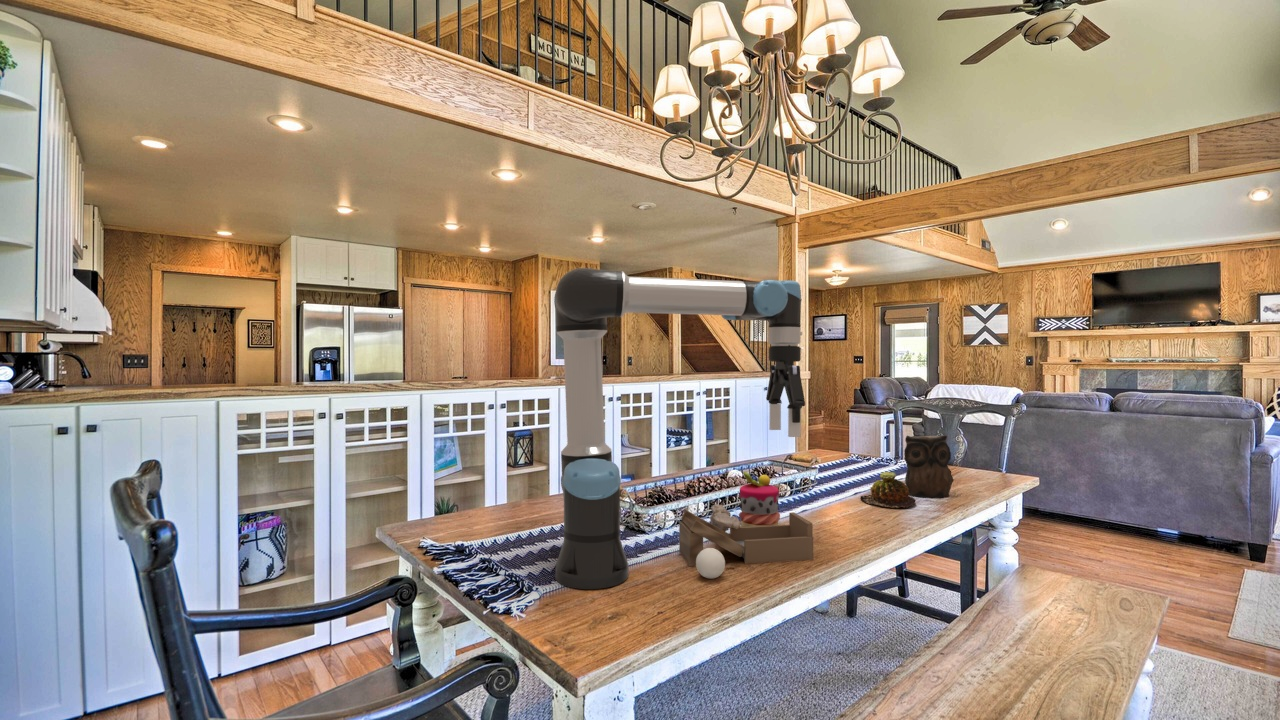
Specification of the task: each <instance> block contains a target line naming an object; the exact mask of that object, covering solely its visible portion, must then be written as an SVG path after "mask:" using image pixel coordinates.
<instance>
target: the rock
mask: <svg viewBox="0 0 1280 720" xmlns="http://www.w3.org/2000/svg"><path fill="white" fill-rule="evenodd" d="M710 510H711V512H712V513H710V515H711V516H710V518H709V521H710V522H709V523H711V524H712V525H714V526H716V527H718V528H720V529H722V530H723V531H725V532H727V531H729V530H730V528H734V529H738V528H739V527H741V520H739V517H738V516H734V515H732V516H731V512H729V511H728V510H727V509H726V507H725V506H724V505H722V504H718V503H716V504H713V505H711V507H710Z"/></svg>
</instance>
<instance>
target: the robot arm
mask: <svg viewBox="0 0 1280 720" xmlns="http://www.w3.org/2000/svg"><path fill="white" fill-rule="evenodd" d="M801 292H802V290H801V285H800V283H799V282H798V281H795V280H790V279H789V280H786V279H785V280H775V279H763V280H762V281H744V280H743V281H742V280H721V279H720V280H718V279H701V278H700V279H698V278H697V279H695V278H673V277H672V278H671V277H648V276H646V277H645V276H644V277H643V276H629V275H627V274H626V273H625V272H624V271H620V270H607V269H598V268H588V267H583V268H582V267H579V268H578V267H577V268H574V269H572V270H569V271H568V272H567V273H565V274H564V275H563V276H562V277H561V278H560V280H558V283H557V285H556V289H555V293H554V300H553V301H554V304H553V305H554V308H555V325H556V326H555V329H556V334H557V336H559V337H560V338H561V339H562V341H563V358H564V359H563V360H564V363H563V364H564V388H565V389H564V392H565V414H566V416H565V417H566V440H567V441H566V442H567V444H566V446H565V447H563V449H562V450H561V451H560V457H561V458H560V459H561V477H560V487H561V491H562V495H563V496H562V497H563V542H562V545H561V548H560V551H559V554H558V557H557V560H556V563H555V564H556V565H555V571H554V572H555V578H554V579H555V580H556V582H558V583H559V584H560V585H562V586H564V587H568V588H571V589H578V590H579V589H580V590H599V589H600V590H601V589H607V588H611V587H615V586H617V585H620V584H622V583H624V582H625V581H626V580H627V579H629V563H628V559H627V556H626V553H625V549H624V547H623V544H622V541H621V506H620V505H621V498H620V497H621V493H620V492H621V491H620V490H621V484H622V483H621V482H622V481H621V480H622V478H621V474H620V468H619V466H618V465H617V464H616V463H614V462H613V457H612V451H613V450H612V448H611V447H610V446H609V445H608V444H607V443H606V441H605V419H604V417H605V416H604V390H603V389H604V388H603V386H604V385H603V365H602V364H603V361H602V358H603V357H602V338H603V337H604V336H605V335H606V334H607V333H608V323H607V322H608V321H607V319H608V318H623V316H624V315H626V314H627V313H628V314H629V313H631V314H632V313H633V314H666V315H667V314H668V315H669V314H671V315H674V314H675V315H706V316H707V315H708V316H709V315H710V316H720V317H721V318H722V319H723V320H727V321H734V322H737V321H765V322H766V321H768V344H770V346H769V348H768V361H769V362H773V363H774V362H775V364H771V365H770V371H769V373H770V374H769V380H768V386H767V392H766V401H768V403H769V420H768V421H769V428H768V430H770V431H782V426H781V425H782V421H781V419H782V404H783V402H782V399H781V398H782V395H783V391H784V390H785V394H786V397H787V400H788V405H787V407H786V408H787V409H788V410H787V411H788V412H787V418H788V419H787V421H788V422H787V423H788V428H787V430H788V431H787V433H788V435H787V437H789V438H801V436H802V433H801V432H802V430H801V429H802V424H801V423H802V422H801V421H802V420H801V419H802V415H801V414H802V409H803V407H805V406H806V400H805V395H804V389H803V383H802V377H801V368H800V367H801V366H800V365H795V364H794V363H795V362H796V363H798V362H801V354H802V353H801V352H802V350H801V347H800V346H799V345H800V344H801V336H802V335H803V332H802V331H801V326H802V325H801V317H802V316H801V313H802V312H801V311H802V301H803V300H802V293H801Z"/></svg>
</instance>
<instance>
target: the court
mask: <svg viewBox="0 0 1280 720" xmlns="http://www.w3.org/2000/svg"><path fill="white" fill-rule="evenodd" d="M788 514H789V515H788V516H789V517H788V520H789V521H788V523H789V524H778V525H772V526H753V527H741V526H740V527H739V528H738V529H734V528H729V534H731V535H732V538H731V539H732V540H733V541H735V542H737V543H739V544H741V545H743V546H744V547H745V550H744V552H743V554H742V556H741V557H742V559H744V560H743V562H744V564H745V565H746V564H748V565H749V564H761V563H763V564H764V563H776V562H777V563H778V562H779V563H780V562H793V561H794V562H795V561H797V562H798V561H809V560H810V561H811V560H814V536H813V522H811V521H809V520H808V519H805V518H804V517H803V516H801V515H799V514H797V512H789V513H788Z"/></svg>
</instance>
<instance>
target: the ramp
mask: <svg viewBox="0 0 1280 720" xmlns="http://www.w3.org/2000/svg"><path fill="white" fill-rule="evenodd" d="M680 520H681V521H679V522H678V523H679V527H678V528H679V529H678V530H679V536H678V537H679V539H678V541H679V542H678V543H679V544H678V545H679V546H678V547H679V553H680V555H681V556H682V557H683V559H684V560H685V562H686V563H687V565H688V566H689V567H696V558H697V556H698V554H699V553H700V552H701V551H702V550H704V539H706V540H708V541H710V542H712V543H714V544H715V545H717V546H718V547H720V548H722V549H724V550H726V551H728V552H730V553H732V554H734V555H736V556H738V557H739V558H741V557H742V554H743V552H744V550H745V547H744V546H743V545H741V544H739V543H737V542H735V541H733V540H732V539H731V538H732V535H731V534H730V532H727V531H726V532H725V531H723V530H722V529H720V528H718V527H716V526H714V525H712V524H711V522H708V521H707V520H705V519H703V518H701V517H700V516H697V515H696V514H694V513H692V512H690V511H688V510H686V509H684V512H683V514H682V515H681V517H680Z"/></svg>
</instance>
